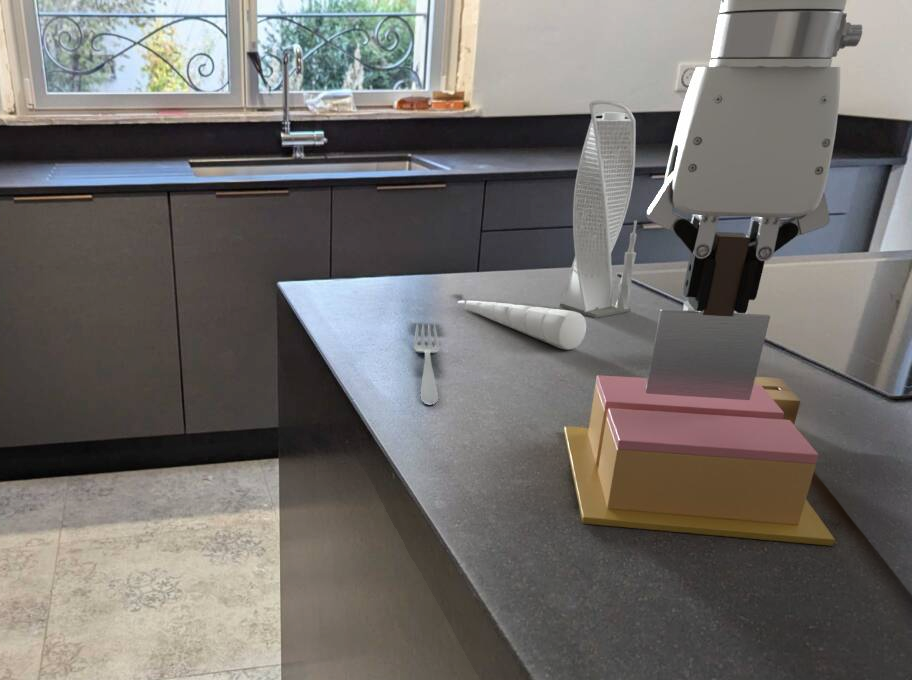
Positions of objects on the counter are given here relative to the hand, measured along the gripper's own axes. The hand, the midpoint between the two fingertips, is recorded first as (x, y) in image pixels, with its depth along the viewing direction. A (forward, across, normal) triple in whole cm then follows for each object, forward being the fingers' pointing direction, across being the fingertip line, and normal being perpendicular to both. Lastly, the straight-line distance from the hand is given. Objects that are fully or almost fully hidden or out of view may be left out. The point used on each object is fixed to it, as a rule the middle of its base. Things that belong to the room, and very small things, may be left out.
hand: (716, 305), depth 64 cm
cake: (+15, 0, 0) cm, 15 cm away
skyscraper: (+16, +2, -55) cm, 57 cm away
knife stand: (+15, -6, -14) cm, 22 cm away
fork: (+16, +23, -25) cm, 38 cm away
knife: (+8, 0, 0) cm, 8 cm away
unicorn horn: (+16, +13, -43) cm, 48 cm away
